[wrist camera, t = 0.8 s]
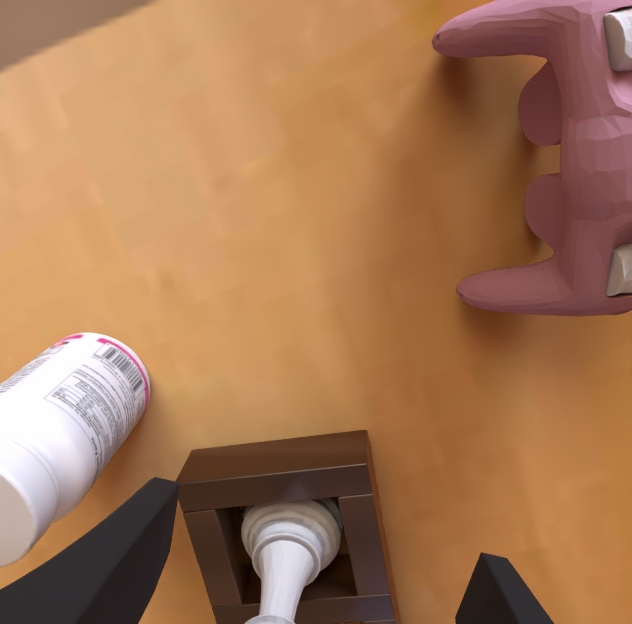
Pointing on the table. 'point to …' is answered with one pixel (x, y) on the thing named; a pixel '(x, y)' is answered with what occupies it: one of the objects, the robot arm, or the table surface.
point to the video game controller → (564, 151)
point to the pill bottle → (62, 431)
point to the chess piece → (289, 551)
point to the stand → (284, 486)
